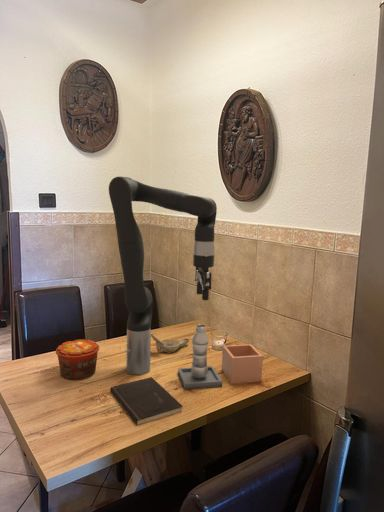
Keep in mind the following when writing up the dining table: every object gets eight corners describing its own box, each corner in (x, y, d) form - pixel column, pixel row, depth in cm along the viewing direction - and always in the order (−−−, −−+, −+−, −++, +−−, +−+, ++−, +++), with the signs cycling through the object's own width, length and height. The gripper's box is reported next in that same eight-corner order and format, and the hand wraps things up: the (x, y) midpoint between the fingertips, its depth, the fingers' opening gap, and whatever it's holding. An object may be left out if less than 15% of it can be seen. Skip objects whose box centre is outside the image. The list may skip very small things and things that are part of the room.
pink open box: (231, 383, 139) (232, 358, 138) (221, 369, 151) (222, 345, 149) (261, 381, 142) (262, 356, 141) (249, 367, 154) (251, 344, 152)
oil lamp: (145, 352, 166) (146, 331, 164) (183, 342, 180) (183, 322, 178) (157, 359, 159) (157, 336, 158) (194, 347, 173) (195, 326, 172)
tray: (184, 389, 134) (184, 384, 134) (178, 373, 146) (178, 368, 146) (222, 386, 137) (222, 381, 137) (212, 370, 150) (212, 365, 149)
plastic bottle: (208, 373, 145) (210, 323, 143) (206, 381, 138) (209, 329, 136) (191, 372, 146) (193, 322, 143) (189, 380, 139) (191, 328, 137)
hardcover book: (151, 382, 139) (151, 376, 139) (182, 412, 120) (182, 405, 120) (110, 393, 131) (110, 387, 131) (136, 427, 112) (136, 420, 111)
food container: (47, 376, 141) (46, 348, 140) (78, 360, 155) (77, 336, 154) (78, 386, 134) (78, 358, 132) (108, 369, 148) (108, 343, 146)
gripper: (189, 250, 141) (188, 292, 143) (198, 256, 127) (196, 302, 130) (208, 250, 143) (207, 292, 145) (219, 256, 129) (217, 301, 131)
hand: (202, 297), depth 137 cm, fingers open, 8 cm apart
